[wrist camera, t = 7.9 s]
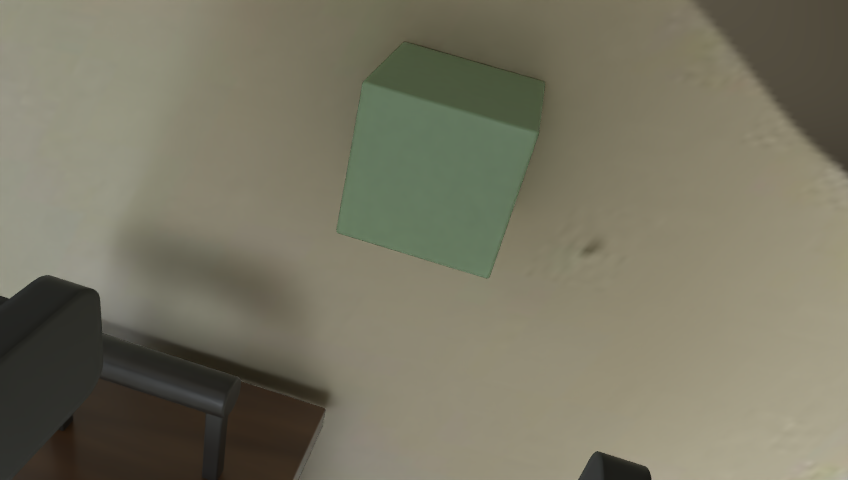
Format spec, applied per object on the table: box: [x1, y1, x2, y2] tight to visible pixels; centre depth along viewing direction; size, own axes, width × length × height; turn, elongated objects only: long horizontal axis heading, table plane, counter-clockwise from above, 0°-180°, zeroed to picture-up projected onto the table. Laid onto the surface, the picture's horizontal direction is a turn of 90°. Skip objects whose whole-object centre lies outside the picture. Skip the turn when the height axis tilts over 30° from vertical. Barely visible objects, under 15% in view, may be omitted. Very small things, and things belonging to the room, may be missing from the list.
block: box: [336, 42, 545, 278], centre depth 19 cm, size 5×5×5 cm
